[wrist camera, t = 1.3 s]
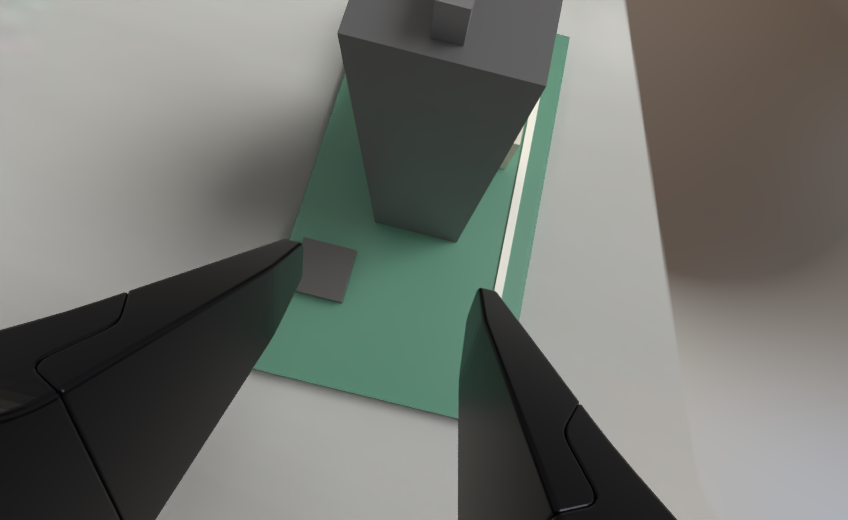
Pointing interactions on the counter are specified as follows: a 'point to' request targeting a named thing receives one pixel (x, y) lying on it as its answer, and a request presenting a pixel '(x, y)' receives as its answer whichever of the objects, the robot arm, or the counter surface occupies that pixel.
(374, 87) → the grey tall block
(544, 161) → the board
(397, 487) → the counter surface
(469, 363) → the robot arm
